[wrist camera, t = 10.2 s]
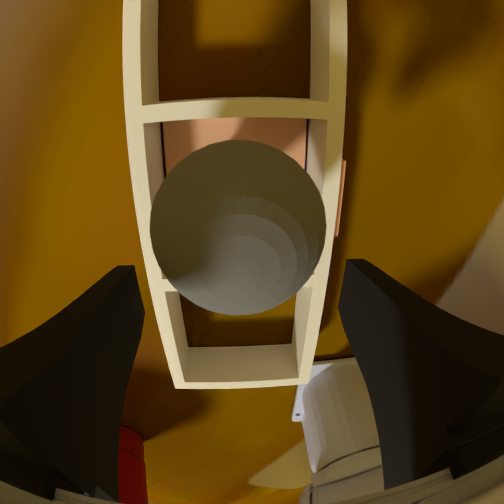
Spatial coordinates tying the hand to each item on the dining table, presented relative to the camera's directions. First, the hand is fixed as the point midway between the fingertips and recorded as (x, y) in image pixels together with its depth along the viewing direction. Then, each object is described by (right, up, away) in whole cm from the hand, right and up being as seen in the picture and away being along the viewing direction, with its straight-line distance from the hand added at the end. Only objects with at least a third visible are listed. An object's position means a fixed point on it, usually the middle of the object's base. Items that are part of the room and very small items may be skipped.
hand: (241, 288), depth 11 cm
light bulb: (-1, +6, +7) cm, 9 cm away
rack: (-1, +5, +7) cm, 9 cm away
